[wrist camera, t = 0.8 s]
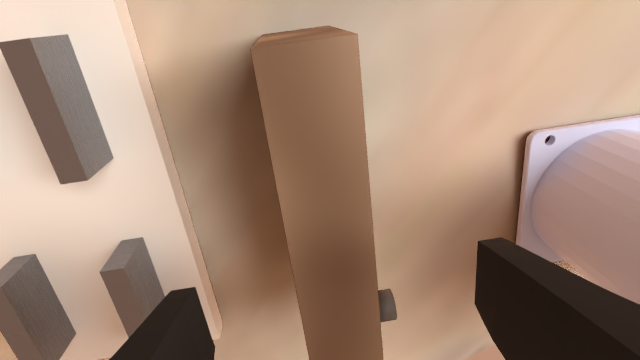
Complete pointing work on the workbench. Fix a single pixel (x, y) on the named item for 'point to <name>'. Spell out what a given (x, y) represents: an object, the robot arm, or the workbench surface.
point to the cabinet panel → (95, 177)
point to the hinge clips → (70, 166)
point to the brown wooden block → (324, 186)
